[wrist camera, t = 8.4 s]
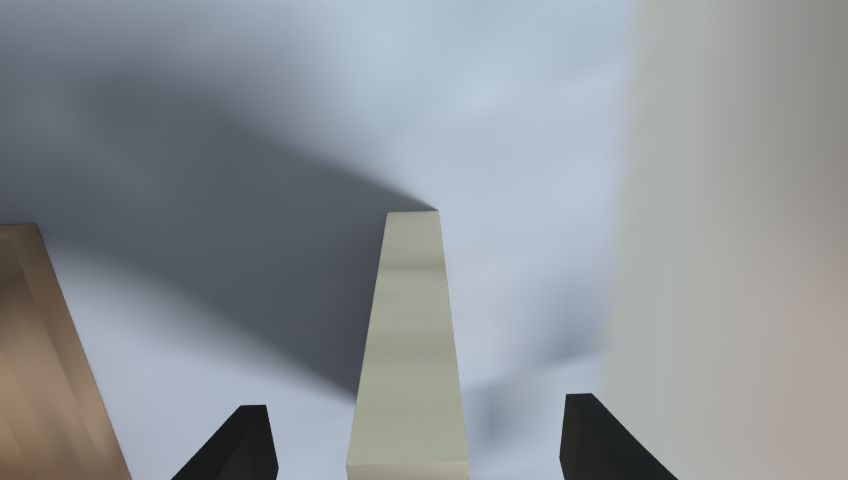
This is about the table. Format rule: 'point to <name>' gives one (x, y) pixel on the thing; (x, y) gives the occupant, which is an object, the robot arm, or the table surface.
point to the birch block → (409, 364)
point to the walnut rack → (46, 376)
